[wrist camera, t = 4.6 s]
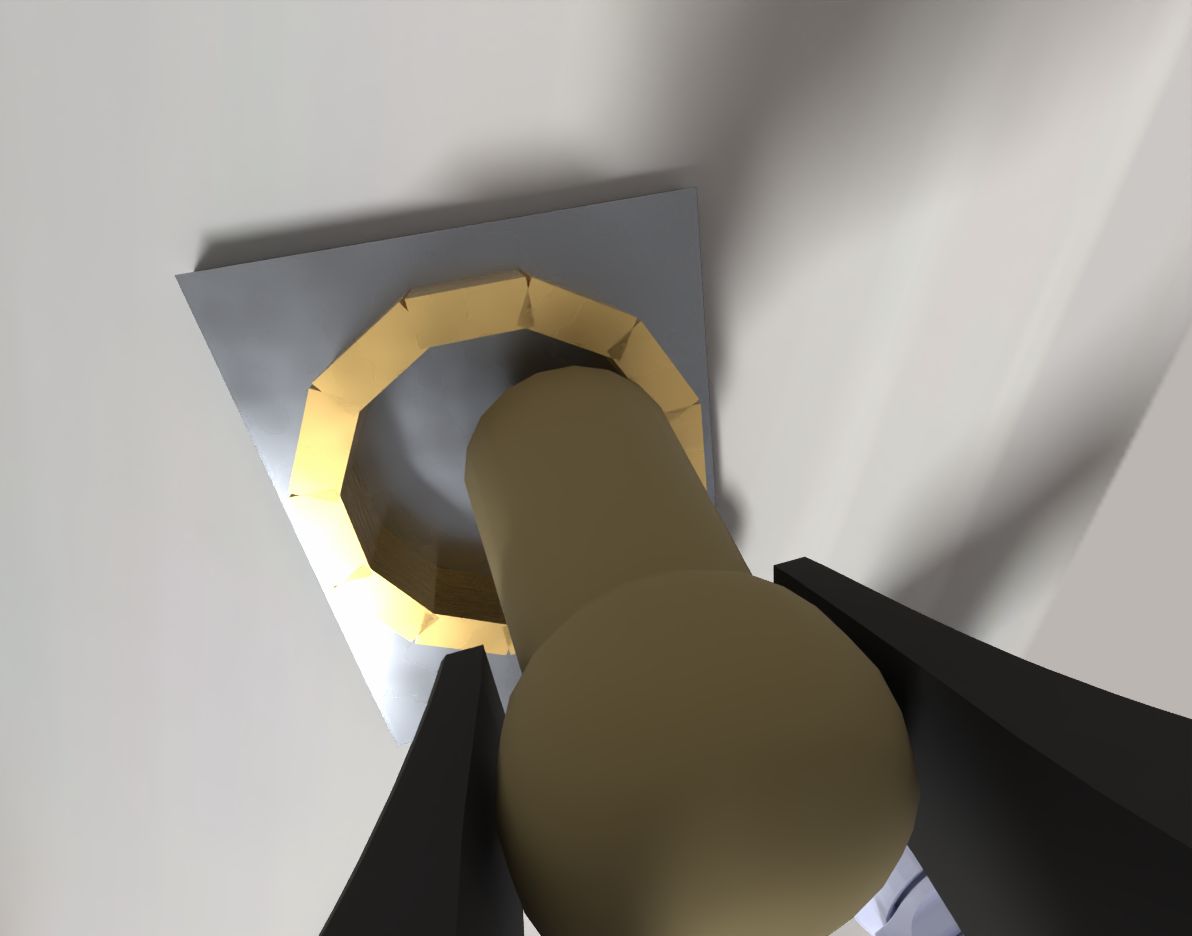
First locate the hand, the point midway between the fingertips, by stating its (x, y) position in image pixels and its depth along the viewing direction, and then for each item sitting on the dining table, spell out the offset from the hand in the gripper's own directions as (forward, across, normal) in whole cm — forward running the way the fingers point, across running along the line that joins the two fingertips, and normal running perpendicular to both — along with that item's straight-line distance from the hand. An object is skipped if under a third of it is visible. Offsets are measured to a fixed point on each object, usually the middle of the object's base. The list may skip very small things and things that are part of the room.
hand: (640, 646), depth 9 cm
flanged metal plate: (+10, +2, +2) cm, 11 cm away
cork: (+7, 0, 0) cm, 7 cm away
